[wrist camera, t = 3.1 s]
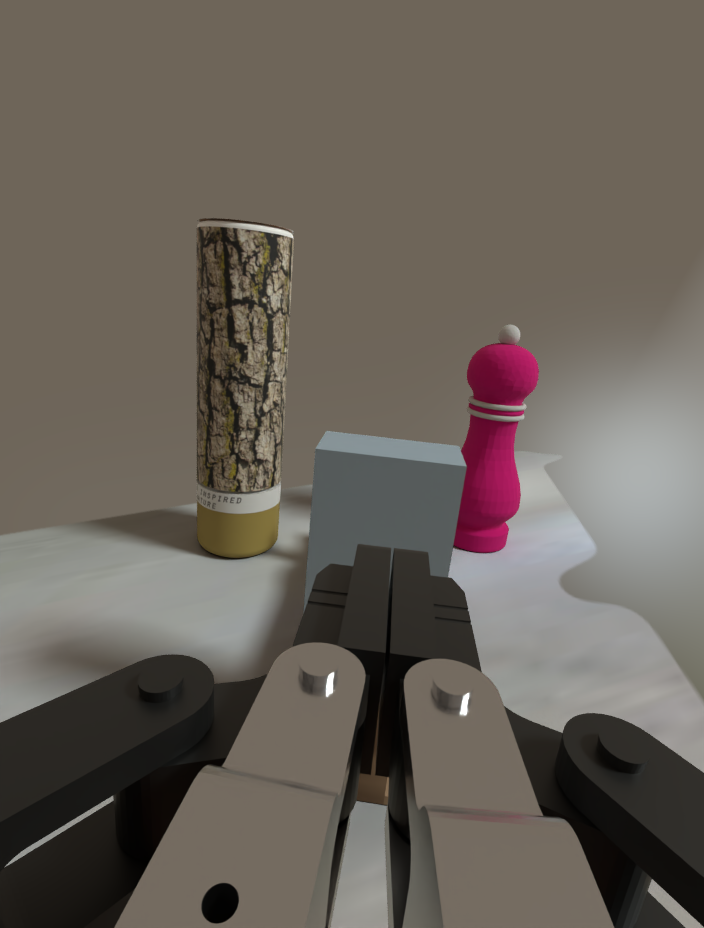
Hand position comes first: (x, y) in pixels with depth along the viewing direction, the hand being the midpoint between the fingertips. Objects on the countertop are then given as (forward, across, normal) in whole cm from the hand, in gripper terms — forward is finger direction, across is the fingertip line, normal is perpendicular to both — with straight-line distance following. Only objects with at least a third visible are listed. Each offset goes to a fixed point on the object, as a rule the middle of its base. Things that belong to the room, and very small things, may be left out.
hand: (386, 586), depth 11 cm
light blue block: (+11, 0, +15) cm, 19 cm away
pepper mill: (+36, -9, +15) cm, 40 cm away
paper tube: (+29, +12, +15) cm, 35 cm away
